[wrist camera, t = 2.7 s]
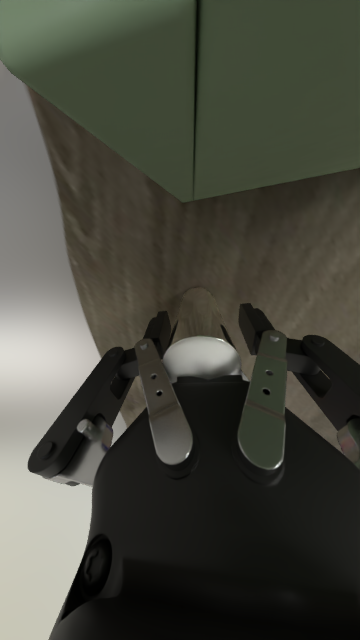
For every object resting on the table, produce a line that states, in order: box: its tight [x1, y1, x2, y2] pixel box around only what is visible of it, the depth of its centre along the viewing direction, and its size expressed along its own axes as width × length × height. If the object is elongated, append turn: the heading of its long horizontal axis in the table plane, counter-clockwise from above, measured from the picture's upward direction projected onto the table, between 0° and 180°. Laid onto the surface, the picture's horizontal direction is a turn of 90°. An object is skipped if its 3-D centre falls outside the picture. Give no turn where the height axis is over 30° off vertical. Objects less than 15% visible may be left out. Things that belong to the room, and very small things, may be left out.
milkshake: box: [163, 287, 250, 383], centre depth 11 cm, size 4×5×10 cm
